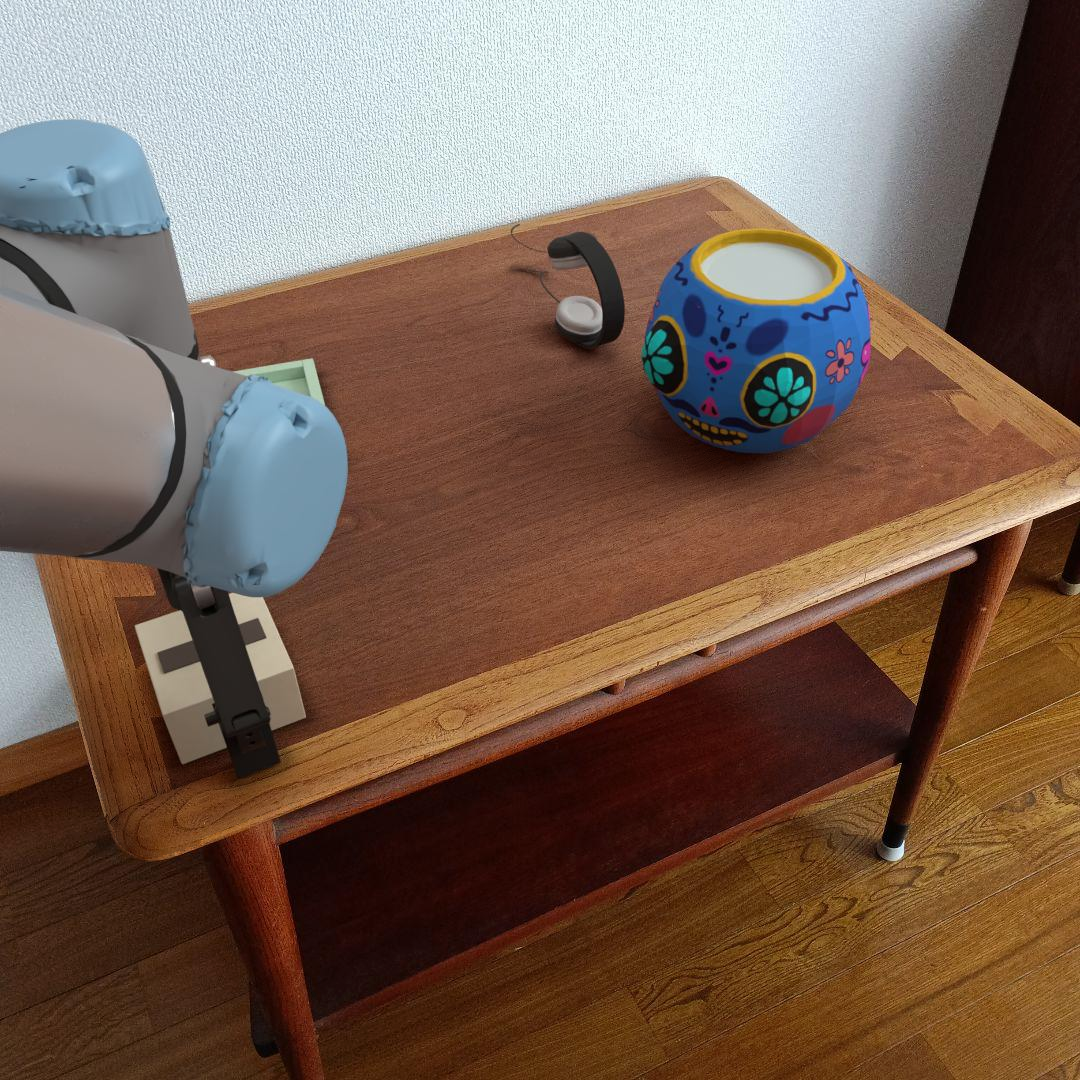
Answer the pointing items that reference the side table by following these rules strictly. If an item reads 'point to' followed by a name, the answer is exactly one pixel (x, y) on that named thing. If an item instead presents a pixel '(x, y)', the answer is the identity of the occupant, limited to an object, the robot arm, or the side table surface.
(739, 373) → the ceramic pot
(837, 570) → the side table surface
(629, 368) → the side table surface
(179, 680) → the beige block
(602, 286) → the headphones
